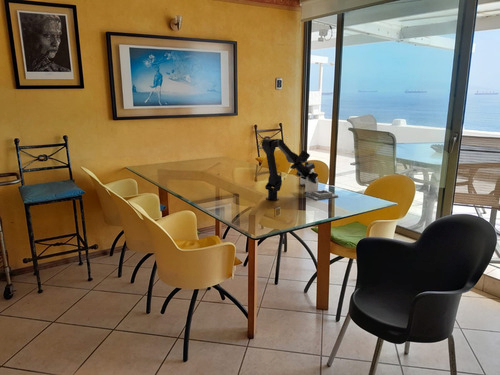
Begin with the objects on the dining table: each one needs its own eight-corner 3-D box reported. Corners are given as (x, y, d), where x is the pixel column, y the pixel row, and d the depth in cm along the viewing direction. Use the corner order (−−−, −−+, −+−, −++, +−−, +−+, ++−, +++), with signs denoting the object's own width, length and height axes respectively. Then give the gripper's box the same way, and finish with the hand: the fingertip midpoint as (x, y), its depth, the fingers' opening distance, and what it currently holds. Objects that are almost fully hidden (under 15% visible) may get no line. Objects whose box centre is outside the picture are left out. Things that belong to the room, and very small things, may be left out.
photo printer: (300, 184, 279) (301, 168, 276) (299, 183, 283) (300, 167, 280) (314, 184, 279) (315, 168, 276) (313, 183, 283) (314, 167, 280)
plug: (305, 191, 260) (305, 177, 257) (313, 190, 263) (314, 176, 260) (309, 193, 256) (310, 178, 253) (317, 192, 259) (318, 178, 256)
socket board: (305, 195, 249) (305, 191, 248) (326, 192, 257) (327, 188, 256) (315, 200, 238) (316, 195, 238) (338, 197, 246) (338, 192, 245)
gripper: (316, 161, 244) (329, 176, 251) (300, 157, 260) (312, 171, 267) (305, 174, 242) (318, 188, 250) (290, 169, 259) (303, 182, 266)
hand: (313, 182), depth 258 cm, fingers closed on plug, 5 cm apart
